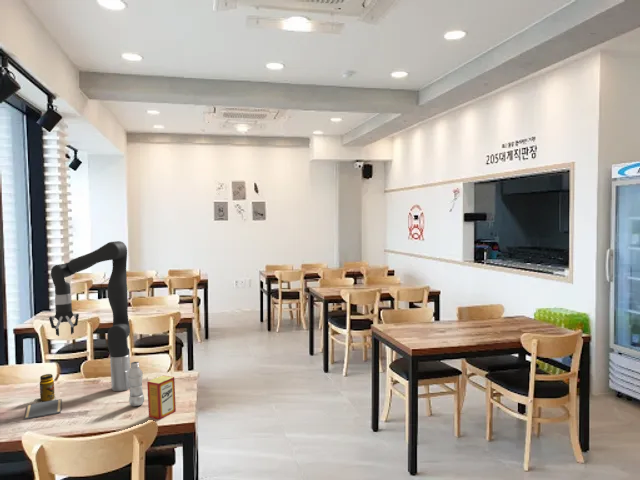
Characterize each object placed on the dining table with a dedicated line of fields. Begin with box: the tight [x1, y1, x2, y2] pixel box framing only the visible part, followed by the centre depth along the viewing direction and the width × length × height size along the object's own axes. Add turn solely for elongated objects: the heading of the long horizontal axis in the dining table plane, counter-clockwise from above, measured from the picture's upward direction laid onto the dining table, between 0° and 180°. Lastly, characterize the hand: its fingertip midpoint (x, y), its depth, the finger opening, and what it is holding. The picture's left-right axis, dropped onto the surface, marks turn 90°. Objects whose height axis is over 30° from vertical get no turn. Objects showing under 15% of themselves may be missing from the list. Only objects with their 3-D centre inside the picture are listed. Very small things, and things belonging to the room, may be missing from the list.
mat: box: [24, 398, 62, 420], centre depth 225 cm, size 18×14×1 cm
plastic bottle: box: [128, 361, 145, 407], centre depth 226 cm, size 6×7×20 cm
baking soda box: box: [146, 375, 177, 420], centre depth 215 cm, size 10×6×16 cm
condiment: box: [34, 373, 57, 403], centre depth 236 cm, size 7×8×12 cm
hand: (65, 334), depth 253 cm, fingers open, 5 cm apart
